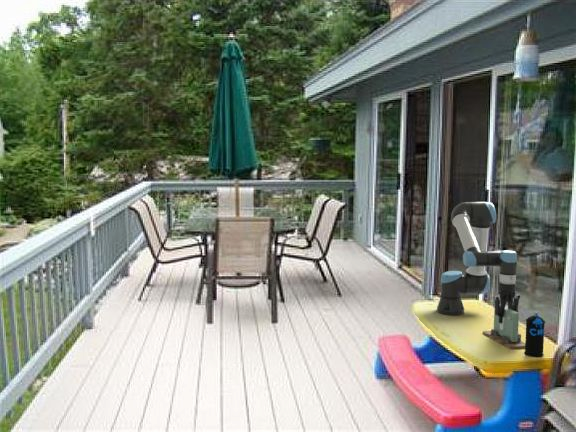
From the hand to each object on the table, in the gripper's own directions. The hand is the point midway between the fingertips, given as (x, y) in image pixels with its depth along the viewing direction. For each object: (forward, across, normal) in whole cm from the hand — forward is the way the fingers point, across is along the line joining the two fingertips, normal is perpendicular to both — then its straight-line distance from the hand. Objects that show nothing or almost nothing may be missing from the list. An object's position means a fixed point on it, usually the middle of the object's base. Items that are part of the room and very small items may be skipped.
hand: (505, 329), depth 288 cm
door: (+4, 0, 0) cm, 4 cm away
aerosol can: (+6, +2, -20) cm, 21 cm away
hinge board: (+6, 0, 0) cm, 6 cm away
